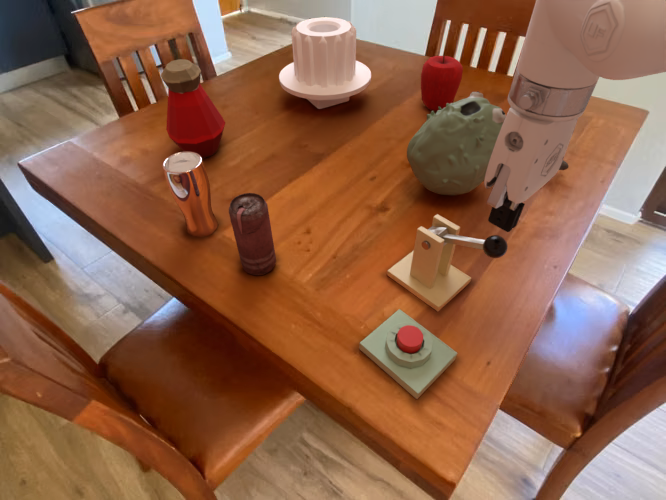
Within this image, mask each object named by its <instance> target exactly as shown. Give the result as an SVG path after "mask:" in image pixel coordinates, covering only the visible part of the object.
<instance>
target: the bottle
mask: <svg viewBox="0 0 666 500" xmlns="http://www.w3.org/2000/svg"><path fill="white" fill-rule="evenodd" d="M201 75H202V70H201V68H200V66H199V65H196V64H195V63H194V62H192V61H190V60H188V59H175V60H171V61H169V62H168V63H167V64H165V67H164V69H163V70H162V72H161V73H160V77H161V80H162V82H163V83H164V84H165V86H166V87H167V88H168V89H167V109H166V129H165V130H166V132H167V134H168V138H169V139H170V140H171V141H172V142H173V143H175V145H176V146H177V147H178V148H179V149H180V150H181V151H182V152H194V153H197V154H199V155H200V156H201V158H202V160H203V159H205V158H209V157H212V156H214V155H215V154H216V153H217V152H218V150H219V148H220V145H221V140H222V137H223V133H224V130H225V127H226V121H225V119H224V117H223V115H222V114H221V112H220V111H219V110H218V108H217V107H216V105H215V104H214V102H213V101H212V99H211V97H210V96H209V95H208V93H207V91H206V90H205V89H204V87H203V86H202V84H201Z"/></svg>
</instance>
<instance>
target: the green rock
mask: <svg viewBox="0 0 666 500" xmlns="http://www.w3.org/2000/svg"><path fill="white" fill-rule="evenodd" d="M438 108H439V110H438V111H436V112H435V111H432V110H430V113H427V114H426V120H425V122H424V123H423V124H421V126H420V128H419V129H418V130H417V131H416V132H415V134H414V135H413V136H412V137H411V139H410V140H409V142H408V144H407V149H406V158H407V161H408V164H409V165H410V169H411V170H412V173H413V175H414V177H415V178H416V179H417V181H418V182H419V183H420V184H421V185H422V186H423V187H424V188H425V189H427V190H428V191H430V192H432V193H434V194H437V195H441V196H459V195H464V194H469V193H470V192H471V191H474V190H475V189H476V188H477V187H479V186H480V185H481V184H482V183H484V180H485V175H486V171H487V167H488V164H489V161H490V158H491V155H492V152H493V149H494V146H495V143H496V141H497V138H498V135H499V133H500V130H501V128H502V125H503V123H504V120H505V118H506V115H507V114H506V112H505V111H504V110H503V108H502V107H501V106H497V105H494V104H492V103H491V102H490V101H489V99H488V98H485V97H484V94H483V93H482V92H480V91H472V92H470V94H469V96H468V97H466V98H462V99H460V100H457V101H453V103H450V104H449V103H447V104H446V107H445V108H443V109H442V108H441V107H438Z"/></svg>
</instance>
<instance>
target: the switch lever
mask: <svg viewBox="0 0 666 500" xmlns="http://www.w3.org/2000/svg"><path fill="white" fill-rule="evenodd" d="M427 230H429V231H431V232H432V233H434V234H436V235H437V236H439V237H440V238H442V239H444V245H446V244H447V243H450V244H455V245H456V246H461V247H467V248H472V249H477V250H483V252H484V253H485V255H486V256H487V257H488V258H491V259H501V258H502V257H504V256H505V255H506V253H507V251H508V248H509V246H508V245H509V244H508V241H507V240H506V238H504V237H502V236H501V235H497V234H493V235H490V236H488V237H487V238H485V239H483V238H476V237H468V236H463V235H452V234H448V230H447V228H445V227H439V226H432V225H431V226H429V228H427ZM444 245H443V246H444Z"/></svg>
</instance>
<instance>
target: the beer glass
mask: <svg viewBox="0 0 666 500" xmlns="http://www.w3.org/2000/svg"><path fill="white" fill-rule="evenodd" d="M162 168H163V172H164V177H165V180H166V183H167V186H168V190H169V192H170V194H171V197H172V198H173V200H174V201H175V203H176V205H177V206H178V208H179V209H180V211H181V213H182V215H183V217H184V222H185V229H186V230H185V231H186V232H187V233H188V235H190V236H192V237H195V238H203V237H207V236H210V235H211V234H213V233H214V232H216V230H217V229H218V226H219V222H218V220H217V217H216V216H215V214H214V211H213V208H212V196H211V185H210V180H209V175H208V173H207V169H206V167H205V164H204V161H203V159H202V158H201V156H200V155H199V154H197V153H194V152H184V151H180V152H175V153H173V154H171V155H169V156H168V157H166V158H165V159H164V160H163V163H162Z"/></svg>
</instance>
